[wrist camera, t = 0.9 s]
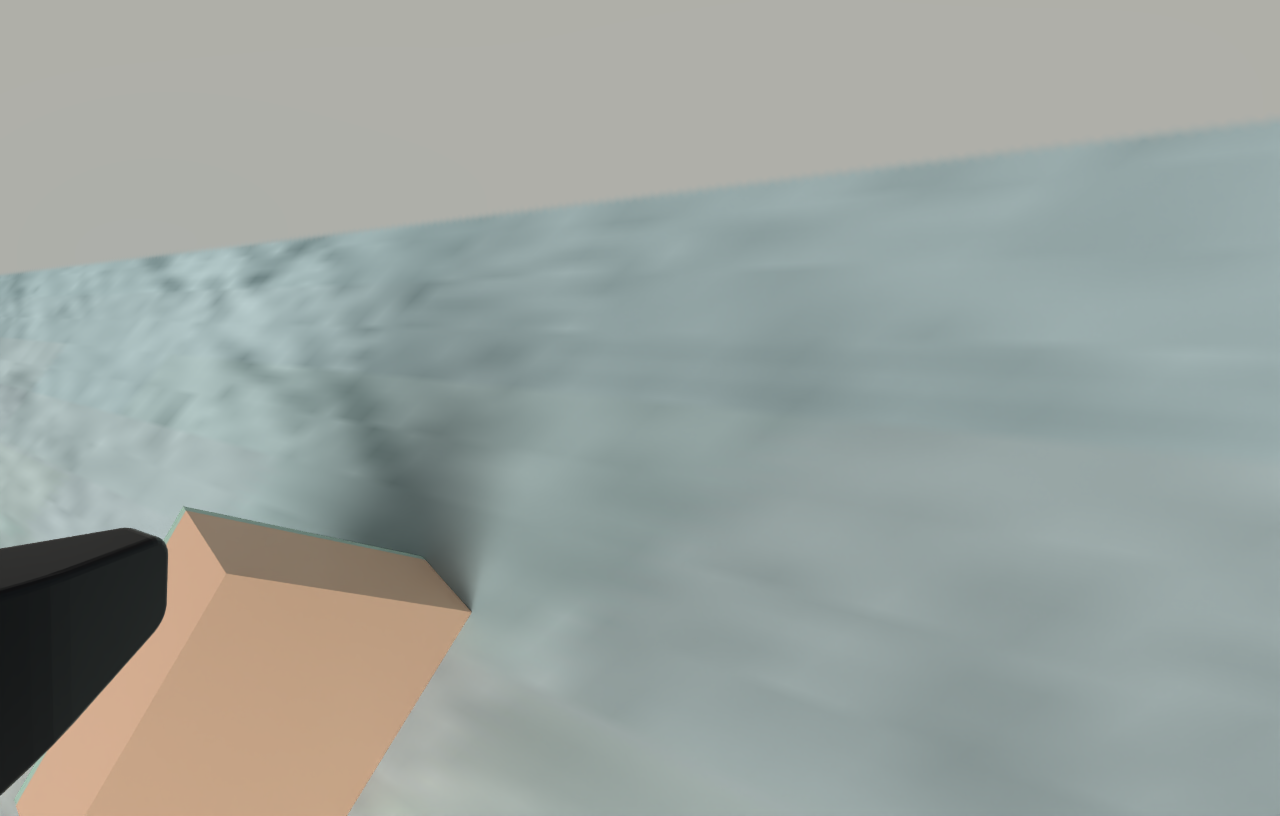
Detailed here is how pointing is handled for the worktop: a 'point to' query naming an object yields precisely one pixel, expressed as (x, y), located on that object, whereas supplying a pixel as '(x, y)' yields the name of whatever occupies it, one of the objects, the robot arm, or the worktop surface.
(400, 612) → the tile
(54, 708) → the robot arm
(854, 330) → the worktop surface
